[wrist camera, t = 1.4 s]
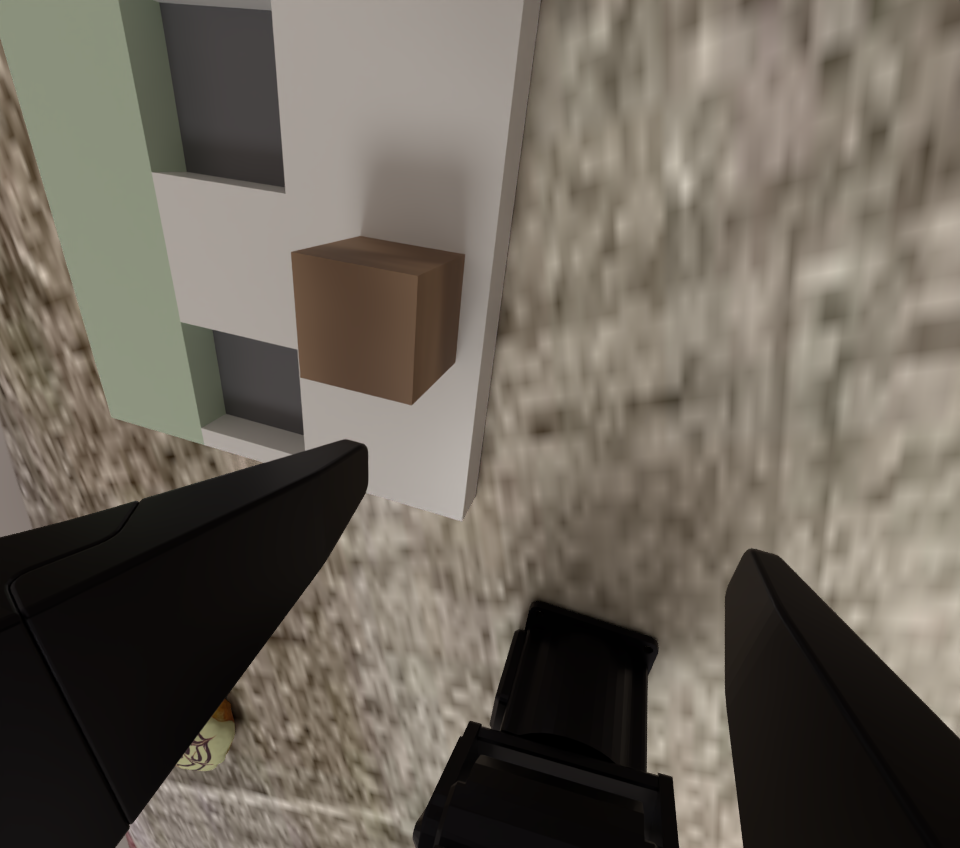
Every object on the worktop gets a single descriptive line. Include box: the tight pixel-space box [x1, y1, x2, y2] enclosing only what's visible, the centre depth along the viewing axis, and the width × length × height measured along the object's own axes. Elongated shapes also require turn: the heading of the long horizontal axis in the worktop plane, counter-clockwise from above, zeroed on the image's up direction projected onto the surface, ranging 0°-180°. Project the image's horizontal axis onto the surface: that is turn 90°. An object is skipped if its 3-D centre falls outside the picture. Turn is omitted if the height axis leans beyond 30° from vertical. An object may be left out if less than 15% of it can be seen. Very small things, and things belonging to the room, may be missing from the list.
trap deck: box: [0, 0, 541, 521], centre depth 21 cm, size 20×19×2 cm
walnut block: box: [291, 236, 465, 405], centre depth 17 cm, size 4×4×4 cm
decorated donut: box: [175, 698, 235, 771], centre depth 42 cm, size 10×11×4 cm
